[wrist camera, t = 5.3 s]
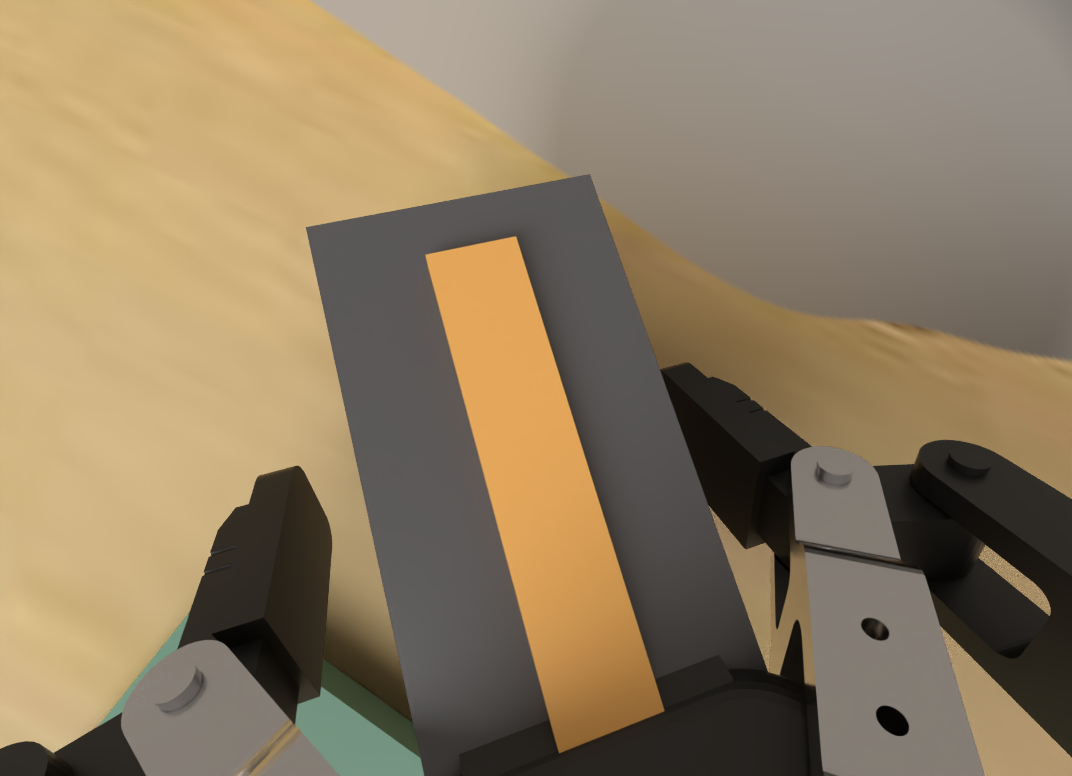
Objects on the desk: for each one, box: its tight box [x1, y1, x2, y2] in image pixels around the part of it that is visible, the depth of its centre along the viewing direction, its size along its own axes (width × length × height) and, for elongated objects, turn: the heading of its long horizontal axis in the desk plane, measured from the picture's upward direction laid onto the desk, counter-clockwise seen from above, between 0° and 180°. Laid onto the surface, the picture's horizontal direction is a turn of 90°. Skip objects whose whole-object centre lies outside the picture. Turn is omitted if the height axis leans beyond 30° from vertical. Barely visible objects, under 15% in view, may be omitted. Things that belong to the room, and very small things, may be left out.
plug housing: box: [306, 174, 768, 776], centre depth 11 cm, size 8×4×10 cm, turn 16°
